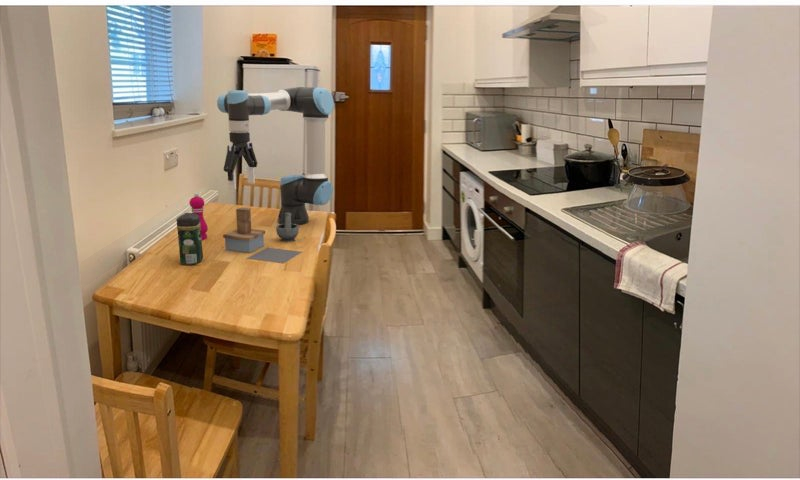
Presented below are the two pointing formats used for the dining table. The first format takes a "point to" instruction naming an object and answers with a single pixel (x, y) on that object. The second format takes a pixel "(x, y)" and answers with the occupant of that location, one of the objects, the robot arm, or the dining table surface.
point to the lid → (244, 227)
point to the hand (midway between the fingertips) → (242, 186)
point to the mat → (274, 255)
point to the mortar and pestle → (287, 229)
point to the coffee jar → (189, 239)
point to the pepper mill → (199, 213)
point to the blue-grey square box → (244, 244)
